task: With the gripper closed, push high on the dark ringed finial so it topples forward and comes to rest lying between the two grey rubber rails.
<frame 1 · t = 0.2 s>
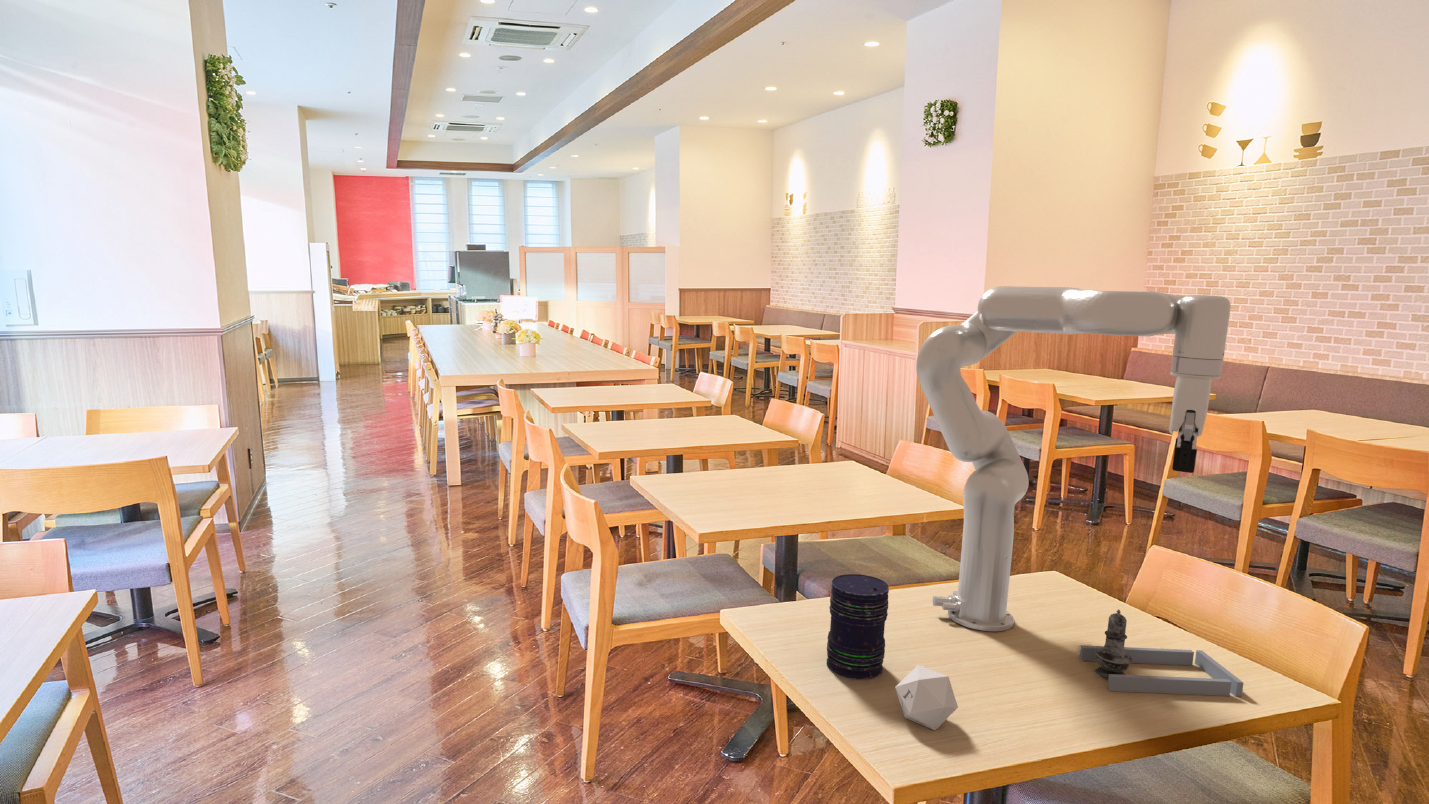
hand: (1183, 466, 142), 37 cm above the table, tool pointing down, fingers open, 9 cm apart
dark ringed finial: (1110, 675, 143), on the table
die: (924, 721, 126), on the table
dark blue cylinder: (854, 667, 142), on the table
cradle: (1151, 676, 143), on the table
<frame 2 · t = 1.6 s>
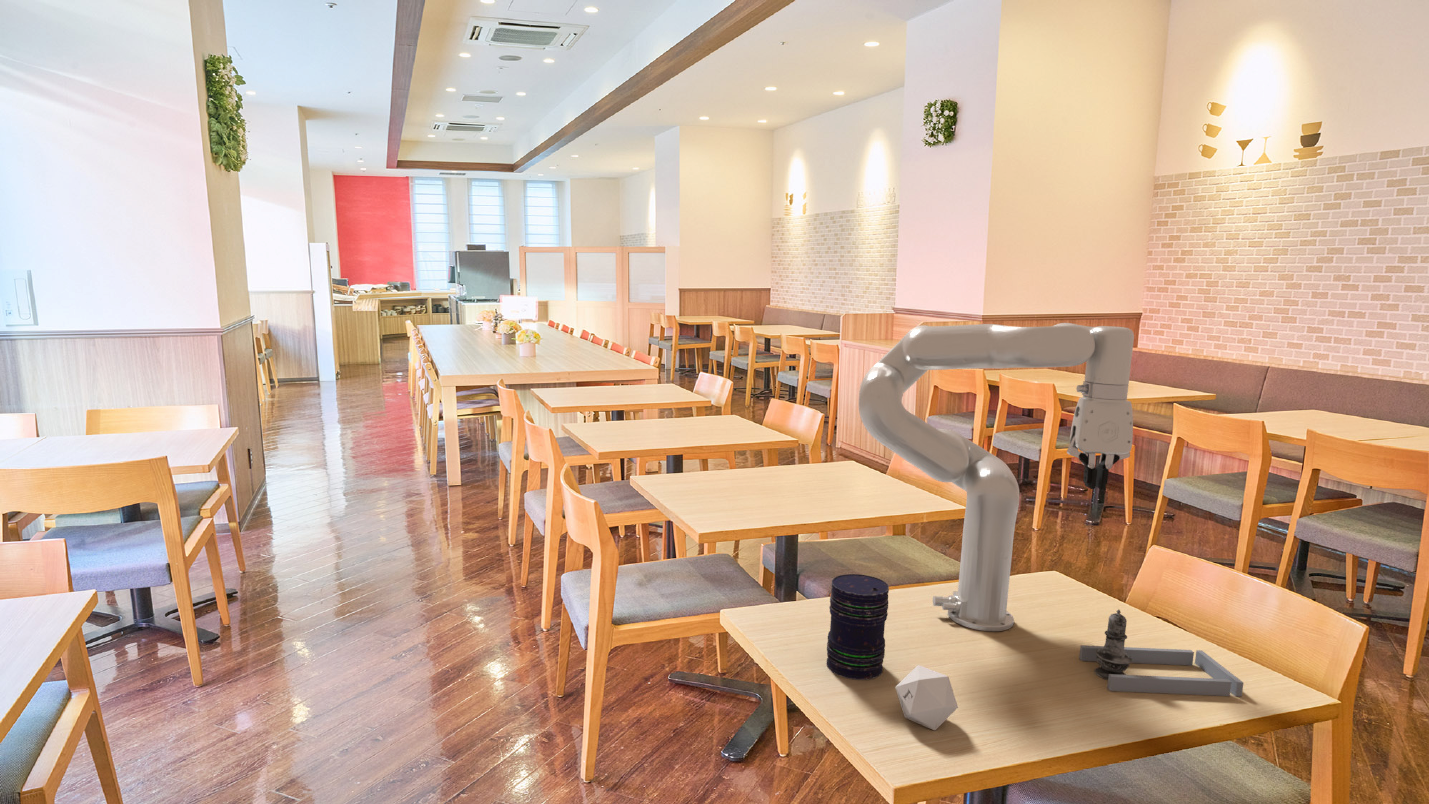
hand: (1094, 487, 157), 29 cm above the table, tool pointing down, fingers closed
nothing on the table moved.
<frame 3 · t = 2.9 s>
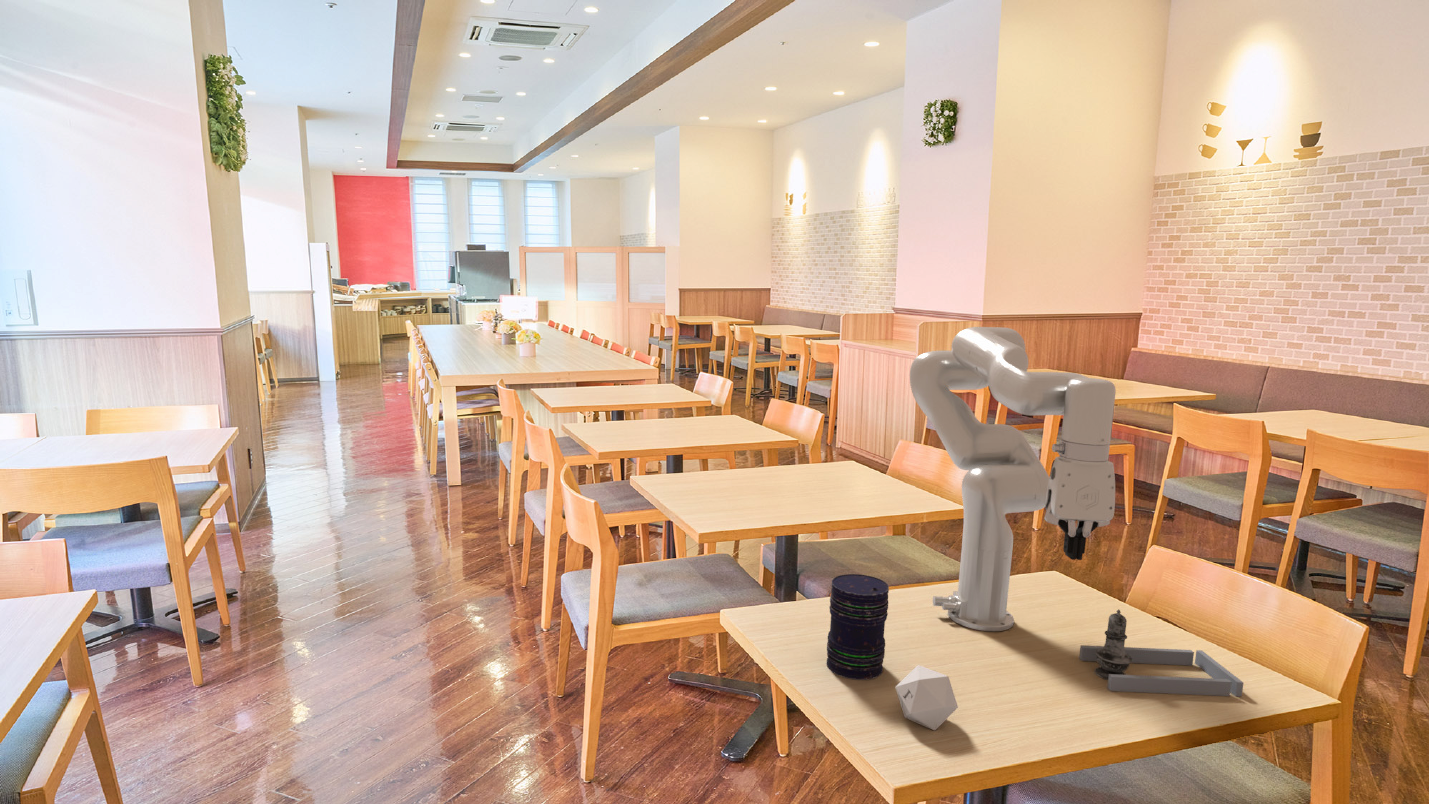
hand: (1073, 557, 140), 21 cm above the table, tool pointing down, fingers closed
nothing on the table moved.
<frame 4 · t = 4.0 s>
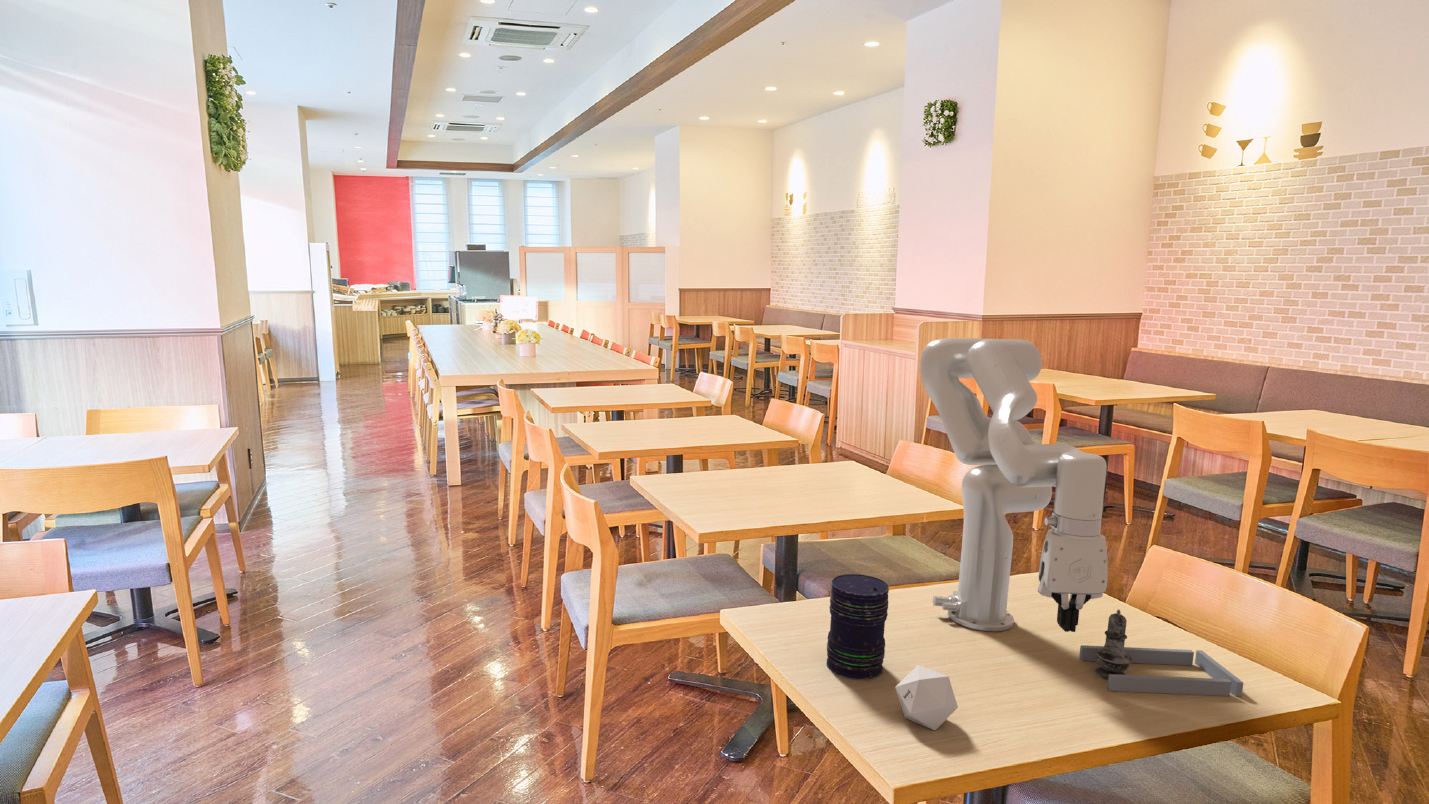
hand: (1066, 628, 142), 8 cm above the table, tool pointing down, fingers closed
nothing on the table moved.
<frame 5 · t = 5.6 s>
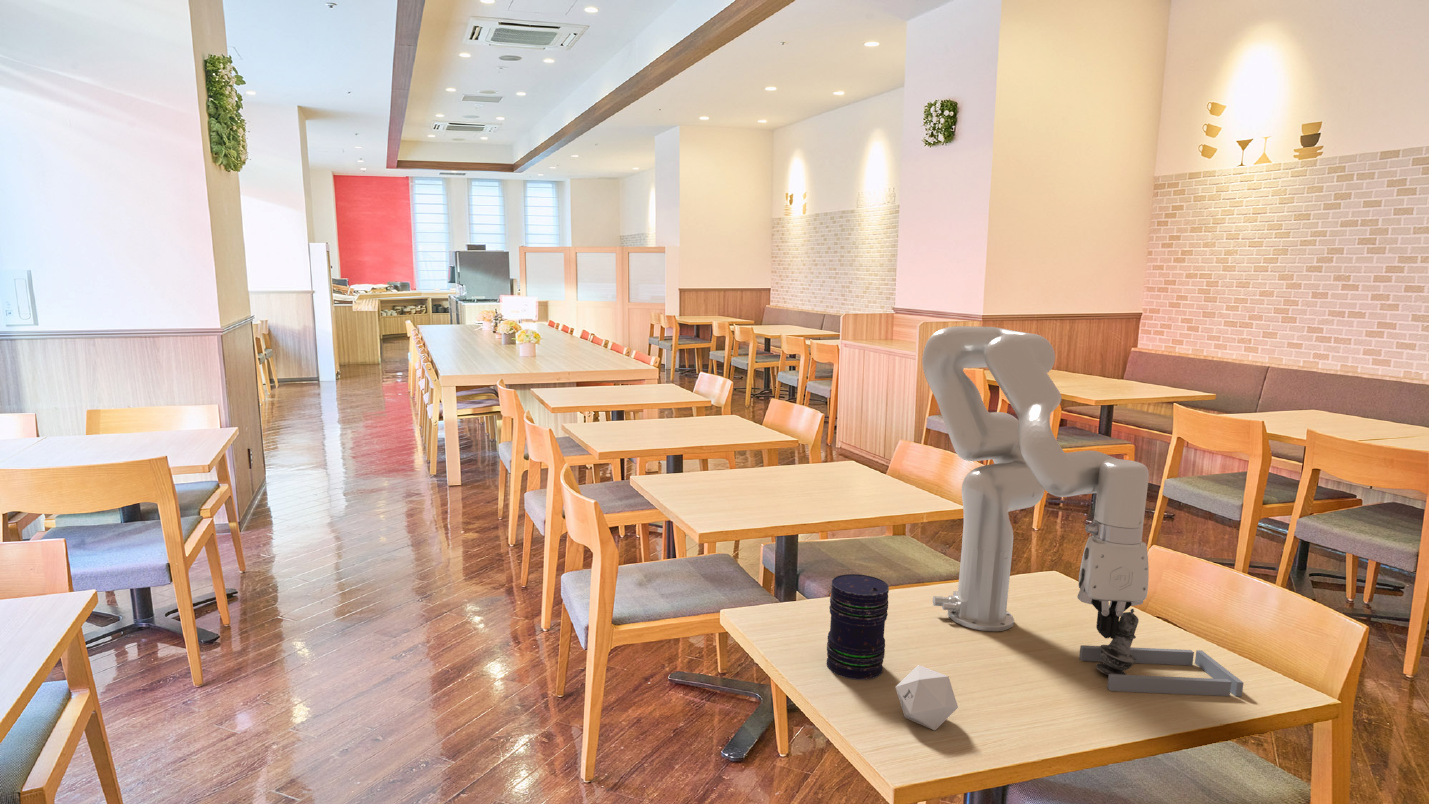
hand: (1106, 635, 142), 7 cm above the table, tool pointing down, fingers closed
dark ringed finial: (1111, 673, 143), on the table, touching gripper
everything else where it was.
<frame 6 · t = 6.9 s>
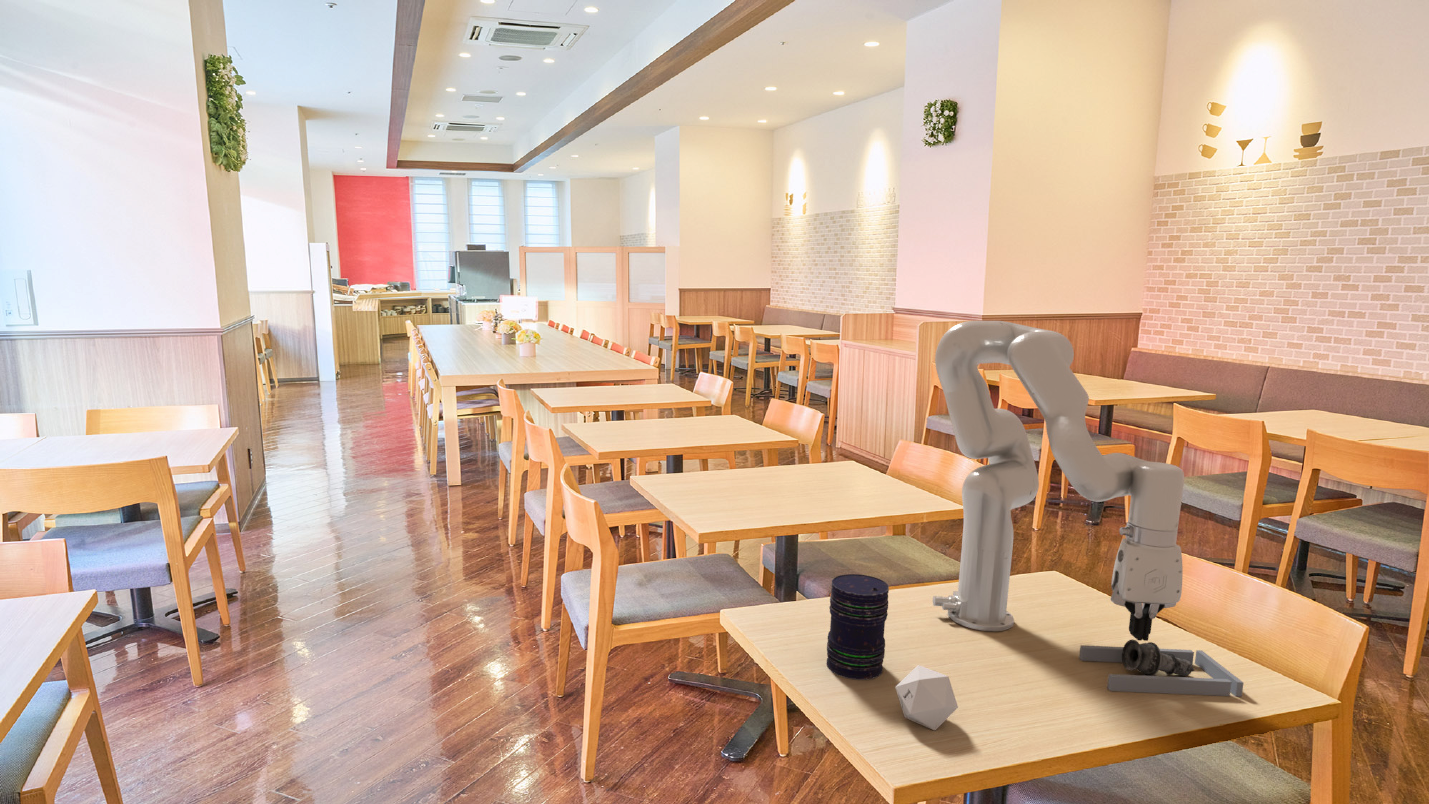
hand: (1138, 637, 142), 7 cm above the table, tool pointing down, fingers closed
dark ringed finial: (1130, 654, 143), point 4 cm above the table
everything else where it was.
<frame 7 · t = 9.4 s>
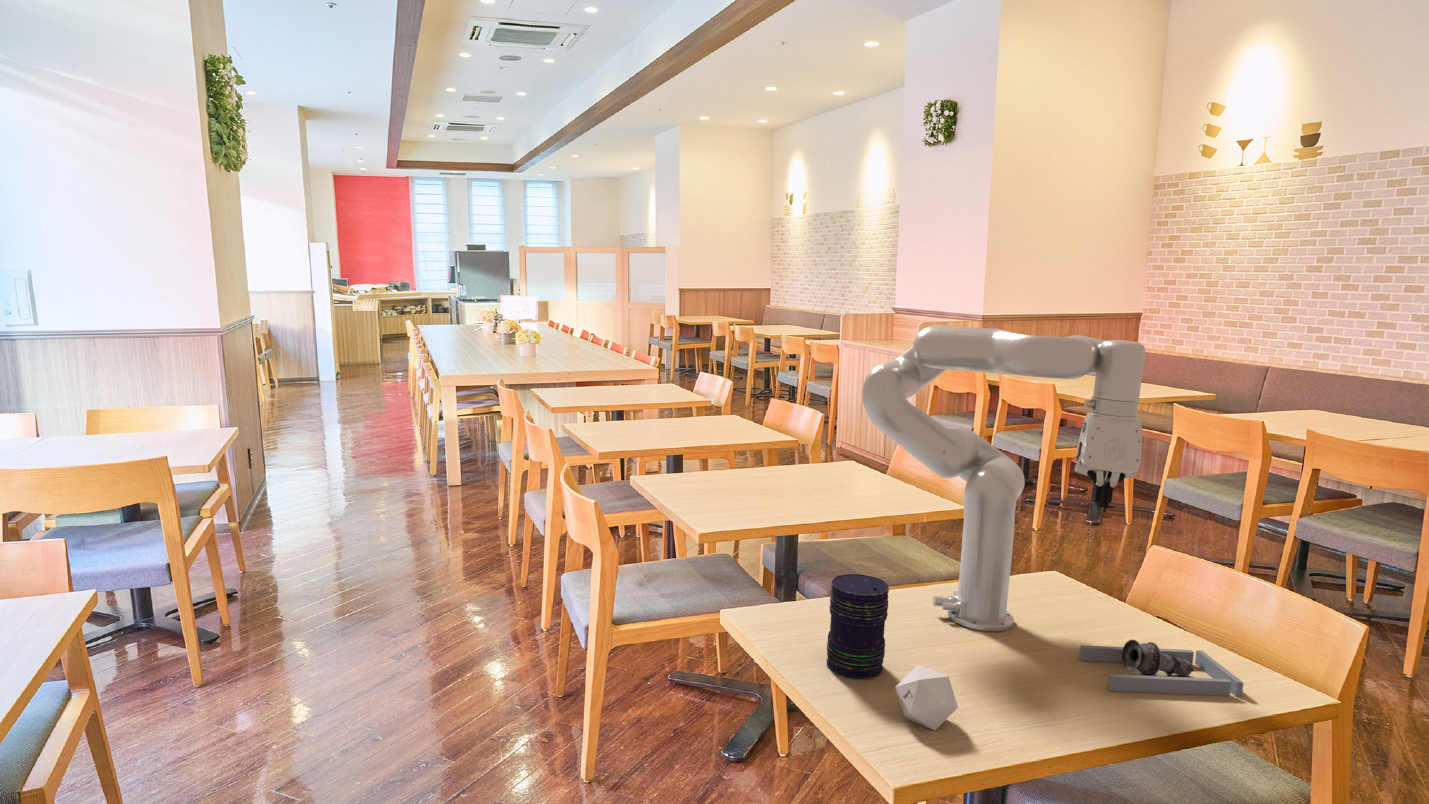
hand: (1100, 505, 152), 27 cm above the table, tool pointing down, fingers closed
nothing on the table moved.
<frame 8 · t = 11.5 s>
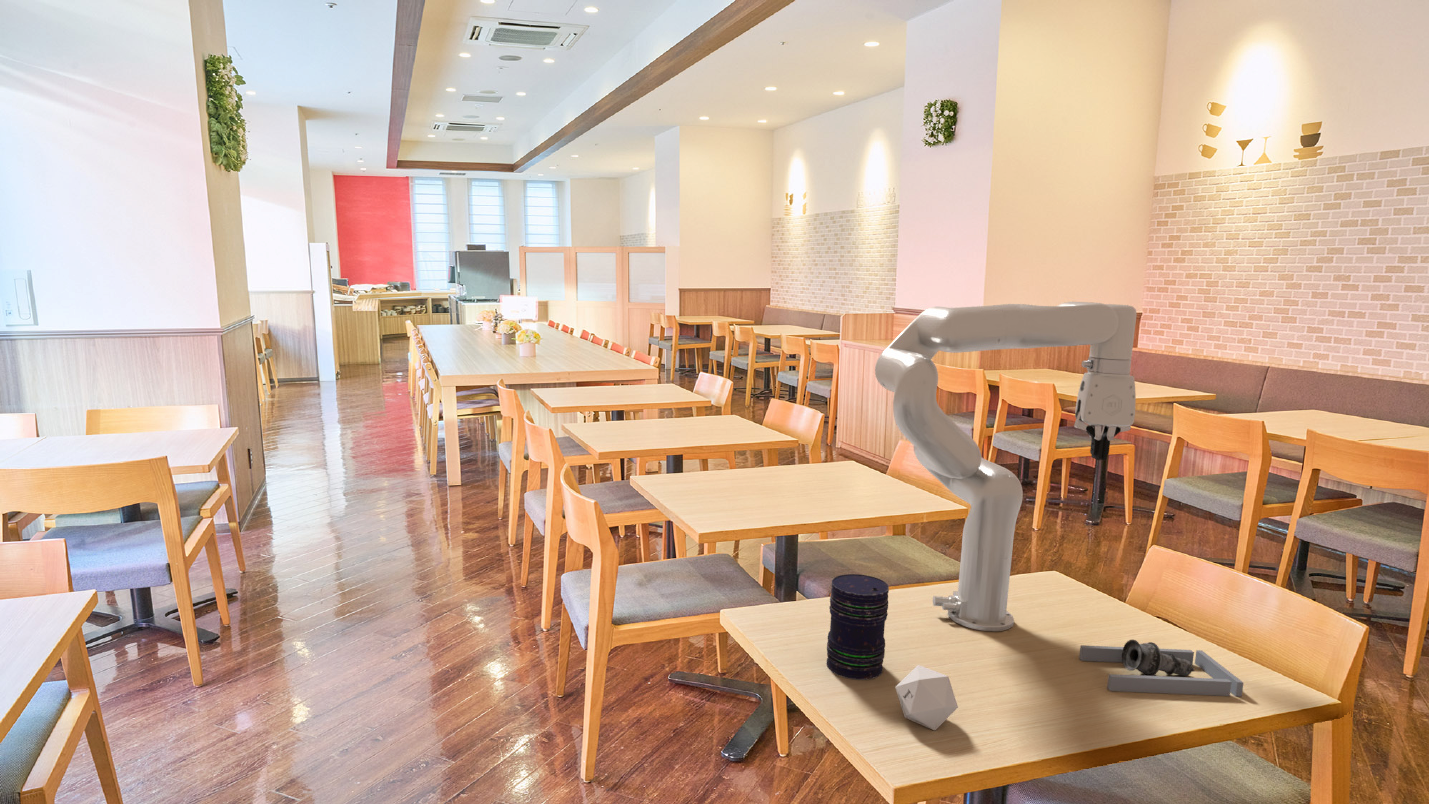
hand: (1098, 458, 164), 33 cm above the table, tool pointing down, fingers closed
nothing on the table moved.
at the end: dark ringed finial tilted 103°; dark ringed finial inside the target area (5.5 cm from its centre), point 3.7 cm above the table; the gripper is holding nothing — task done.
